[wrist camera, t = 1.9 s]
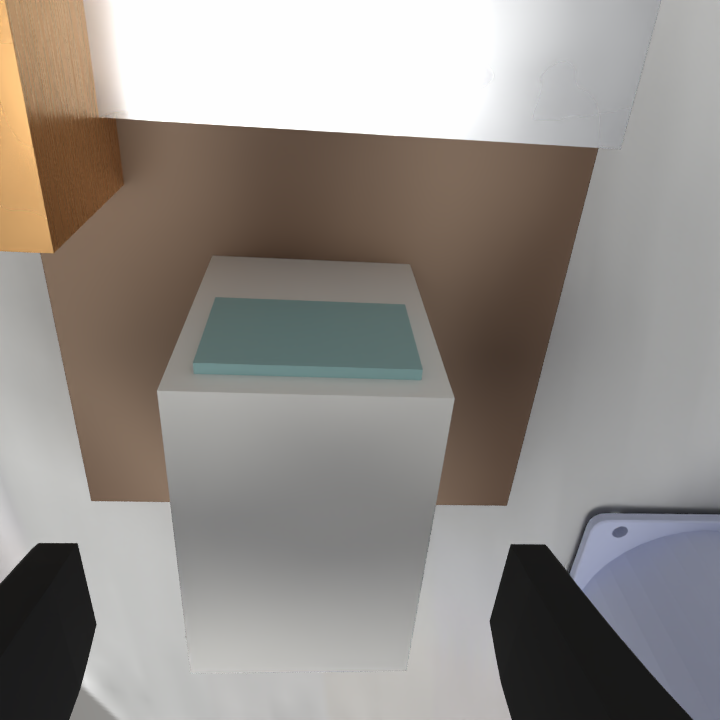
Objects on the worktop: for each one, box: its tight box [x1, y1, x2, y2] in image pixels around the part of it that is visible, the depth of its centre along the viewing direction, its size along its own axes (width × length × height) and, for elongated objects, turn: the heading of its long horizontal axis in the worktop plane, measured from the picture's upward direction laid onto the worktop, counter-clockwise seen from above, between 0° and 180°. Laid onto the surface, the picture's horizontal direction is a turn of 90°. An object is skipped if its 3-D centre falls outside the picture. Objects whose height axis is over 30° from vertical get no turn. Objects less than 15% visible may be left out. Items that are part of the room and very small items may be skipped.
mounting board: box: [40, 118, 598, 506], centre depth 14 cm, size 12×16×2 cm
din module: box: [157, 256, 455, 674], centre depth 13 cm, size 4×7×6 cm, turn 176°
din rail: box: [0, 0, 661, 253], centre depth 10 cm, size 12×6×4 cm, turn 86°
